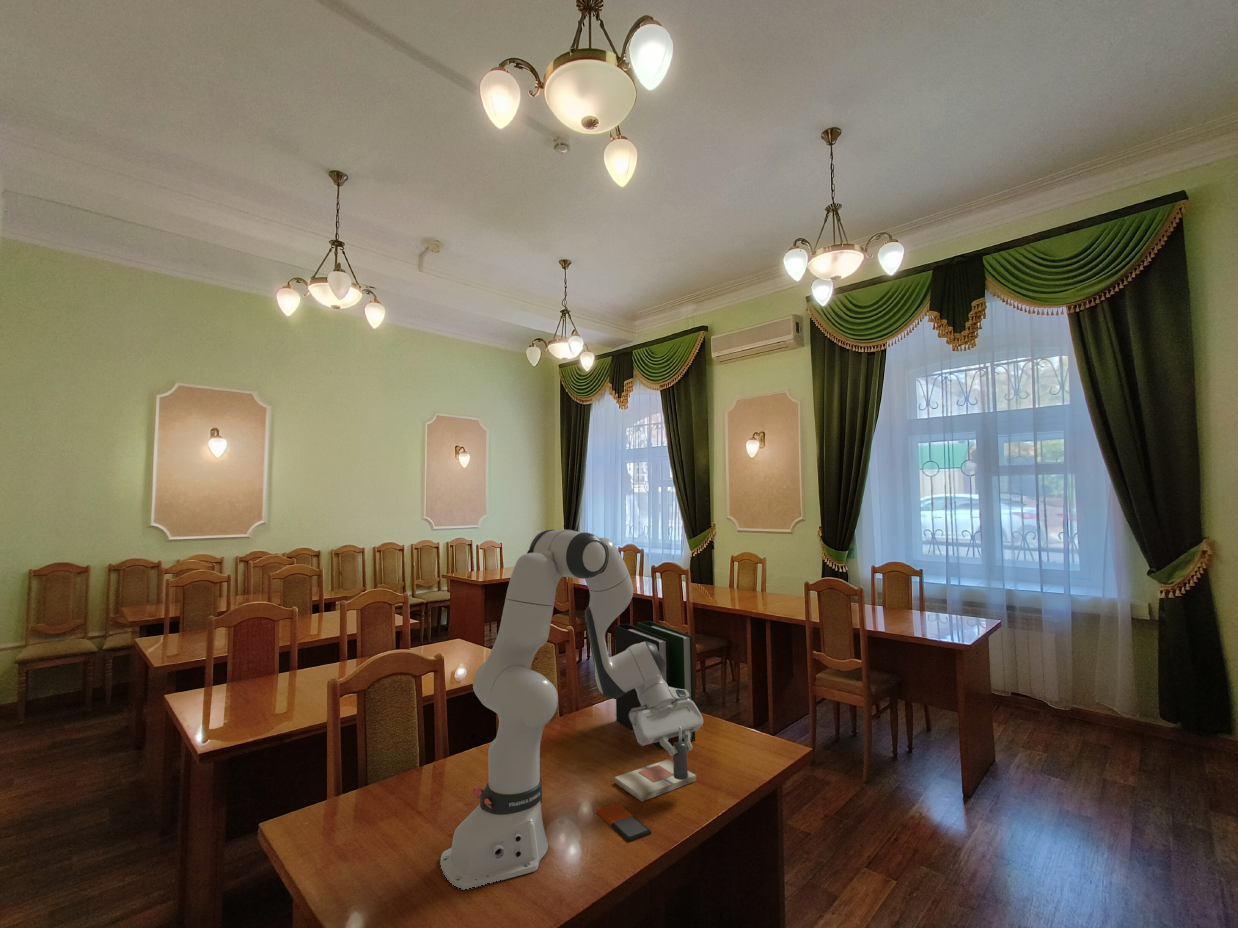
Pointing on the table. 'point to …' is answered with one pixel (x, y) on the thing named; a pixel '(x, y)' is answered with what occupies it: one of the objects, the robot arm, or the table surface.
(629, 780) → the cream flat block
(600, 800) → the table surface
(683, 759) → the grey cylinder with rod
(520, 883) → the table surface
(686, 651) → the binder
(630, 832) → the phone
